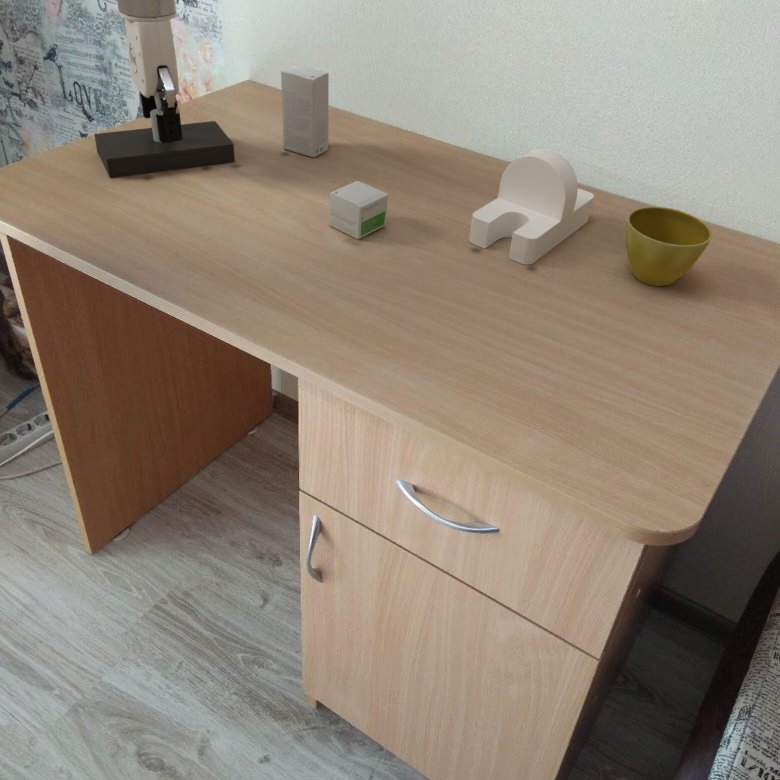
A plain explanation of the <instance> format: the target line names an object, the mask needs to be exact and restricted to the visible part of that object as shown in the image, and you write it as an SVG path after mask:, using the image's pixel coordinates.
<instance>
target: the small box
mask: <svg viewBox="0 0 780 780" xmlns="http://www.w3.org/2000/svg"><path fill="white" fill-rule="evenodd" d="M328 195H329V199H328V225H329V226H330V227H332V228H334V229H336V230H338V231H339V232H342V233H344V234H346V235H348V236H350V237H352V238H354V239H356V240H360V239H362V238H364V237H366V236H367V235H370V234H371V233H373V232H376V231H378V230H379V229H382V228H385V227H386V223H387V212H388V211H387V209H388V197H389V194H388V193H386V192H384V191H382V190H380V189H378V188H375V187H373V186H371V185H369V184H367V183H364V182H362V181H360V180H356V181H354V182H351V183H349V184H347V185H345V186H342V187H340V188H337V189H335V190H332V191H331V192H329V193H328Z"/></svg>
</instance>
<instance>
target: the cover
mask: <svg viewBox="0 0 780 780" xmlns="http://www.w3.org/2000/svg"><path fill="white" fill-rule="evenodd" d="M156 114H158V110H157V109H154V110H152V111H151V112H150V116H151V118H150V123H151V124H150V125H151V127H147V128H146V127H144V128H137V129H136V128H135V129H127V130H117V131H108V132H100V133H99V132H98V133H94V134H93V136H94V141H95V146H96V152H97V154H98V156H99V158H100V160H101V162H102V165H103V167H104V168H105V171H106V173H107V175H108V177H109V178H110V179H112V178H119V177H120V178H121V177H126V176H127V177H128V176H134V175H143V174H149V173H150V174H151V173H157V172H158V173H159V172H166V171H173V170H174V171H175V170H181V169H188V168H196V167H204V166H205V167H206V166H212V165H220V164H228V163H235V162H236V158H235V157H236V156H235V145H234V142H233V141H232V140H231V138H230V137H229V136H228V135H227V134H226V132H225V131H224V130H223V129H222V128H221V127H220V124H218V122H217V121H216V120H211V121H202V122H192V123H181V130H182V140H180V141H173V142H164V143H162V142H161V141H160V140H159V134H158V126H157V118H156Z"/></svg>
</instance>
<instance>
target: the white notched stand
mask: <svg viewBox="0 0 780 780" xmlns="http://www.w3.org/2000/svg"><path fill="white" fill-rule="evenodd" d="M594 199H595V194H593V193H592V192H590V191H587V190H585V189H581V188H579V183H578V178H577V175H576V172H575V170H574V167H573V166H572V164H571V163H570V162H569V160H567V158H565V157H564V156H563V155H562V154H561V153H559V152H557V151H555V150H553V149H549V148H536V149H533V150H530V151H528V152H526V153H525V154H523V155H521V156H519V157H518V158H515V159H514V160H513V161H512V162H510V163H509V164H508V165H507V166H506V167H505V169H504V171H503V172H502V175H501V179H500V182H499V187H498V194H497V198H495V199H493V200H491V201H490V202H488V203H487V204H485V205H484V206H481V207H480V208H479V209H476V210H475V211H474V212H472V216H471V223H470V230H469V237H468V241H469V243H470V244H472V245H474V246H476V247H479V248H482V249H486V248H488V247H489V246H491V245H492V244H494V243H496V242H497V241H499V240H500V239H504V238H511V241H510V247H509V252H508V258H507V259H508V260H511V261H514V262H515V263H518V264H520V265H524V266H525V265H526V266H528V265H533V264H534V263H536V262H537V261H538V260H540V259H541V258H542V257H543V256H545V255H546V254H548V253H549V252H550V251H551V250H553V249H554V248H555V247H557V246H558V245H559V244H560V243H563V241H564V240H566V239H567V238H568V237H570V236H571V235H572V234H573V233H575V232H576V231H577V230H578V229H580V228H581V227H583V226H584V225H585V224H587V223H588V222H589V220H590V214H591V211H592V205H593V203H594Z"/></svg>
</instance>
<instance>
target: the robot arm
mask: <svg viewBox="0 0 780 780" xmlns="http://www.w3.org/2000/svg"><path fill="white" fill-rule="evenodd" d="M116 3H117V10H118V15H119V17H120V18H122V19H125V20H124V23H125V35H126V46H127V55H128V64H129V75H130V77H131V81H132V82H133V83H134V85H135V87H136V88H137V89H138V91H139V95H140V102H141V110H142V116H143V117H144V119H151V116H150V112H151V111H152V110H154V109H157V110H158V114H156V118H157V126H158V134H159V140H160V141H161V142H162V143H164V142H173V141H180V140H182V130H181V125H182V122H181V121H182V120H181V113H180V108H179V107H180V106H179V103H178V100H177V94H178V93H179V91H180V86H179V84H180V83H179V74H178V73H179V72H178V63H177V55H176V48H175V43H174V34H173V28H172V23H171V20H173V19H175V18H176V17H177V4H176V0H116Z"/></svg>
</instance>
